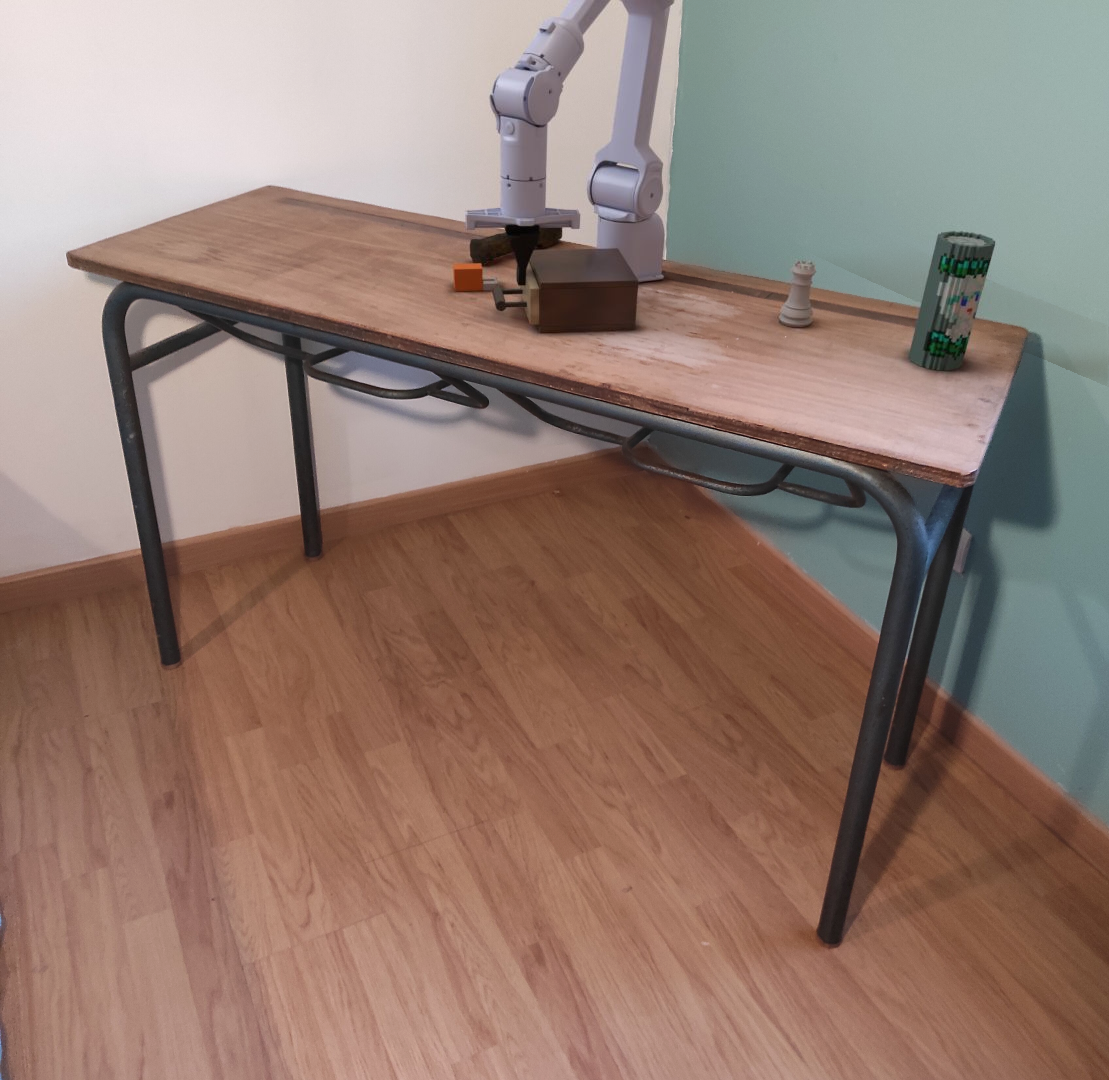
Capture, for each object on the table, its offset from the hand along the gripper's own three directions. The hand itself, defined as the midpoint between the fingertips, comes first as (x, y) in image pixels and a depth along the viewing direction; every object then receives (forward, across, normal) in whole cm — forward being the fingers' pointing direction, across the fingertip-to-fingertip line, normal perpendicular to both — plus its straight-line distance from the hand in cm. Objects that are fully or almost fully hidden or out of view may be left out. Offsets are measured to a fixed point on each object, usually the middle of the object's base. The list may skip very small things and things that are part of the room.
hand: (522, 283), depth 127 cm
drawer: (+3, +4, 0) cm, 5 cm away
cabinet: (+4, +8, 0) cm, 9 cm away
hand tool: (+4, +2, +28) cm, 28 cm away
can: (+4, +50, -20) cm, 53 cm away
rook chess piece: (+4, +36, -6) cm, 37 cm away
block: (+4, -5, +11) cm, 13 cm away
